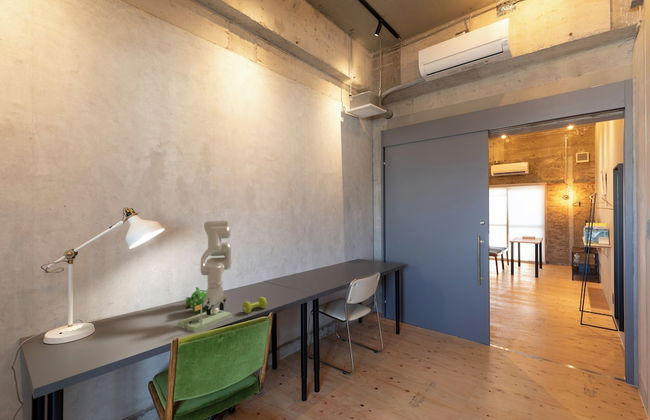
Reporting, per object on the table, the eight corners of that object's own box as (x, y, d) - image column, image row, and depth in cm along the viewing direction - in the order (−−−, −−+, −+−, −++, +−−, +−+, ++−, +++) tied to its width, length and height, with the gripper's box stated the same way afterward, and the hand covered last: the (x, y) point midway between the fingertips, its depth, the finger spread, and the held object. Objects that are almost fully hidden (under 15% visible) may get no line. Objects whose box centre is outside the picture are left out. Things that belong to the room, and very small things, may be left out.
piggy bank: (187, 309, 199) (186, 287, 199) (215, 306, 206) (215, 284, 205) (185, 316, 186) (185, 293, 186) (215, 313, 192) (215, 290, 192)
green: (177, 326, 171) (177, 302, 171) (214, 312, 193) (214, 291, 193) (194, 332, 162) (194, 306, 162) (231, 317, 185) (231, 295, 185)
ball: (210, 314, 183) (210, 307, 183) (215, 312, 186) (215, 305, 186) (214, 315, 181) (214, 308, 181) (220, 313, 184) (220, 307, 184)
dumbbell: (247, 315, 189) (247, 303, 189) (240, 312, 194) (240, 301, 194) (268, 308, 201) (268, 297, 201) (261, 305, 207) (261, 295, 207)
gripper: (222, 281, 193) (222, 307, 193) (199, 287, 178) (199, 315, 178) (230, 283, 189) (230, 309, 189) (207, 289, 174) (207, 318, 174)
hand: (215, 312), depth 184 cm, fingers open, 9 cm apart
